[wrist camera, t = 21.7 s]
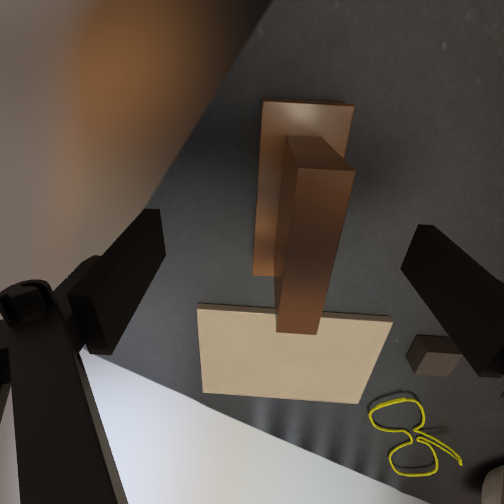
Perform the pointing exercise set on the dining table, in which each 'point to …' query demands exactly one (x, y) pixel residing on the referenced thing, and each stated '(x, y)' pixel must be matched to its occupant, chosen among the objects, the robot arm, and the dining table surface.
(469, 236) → the dining table surface
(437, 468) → the glasses
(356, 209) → the dining table surface
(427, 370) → the dark brown block
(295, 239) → the brown stepped block
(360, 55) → the dining table surface
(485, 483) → the vase
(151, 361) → the dining table surface
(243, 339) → the tile
